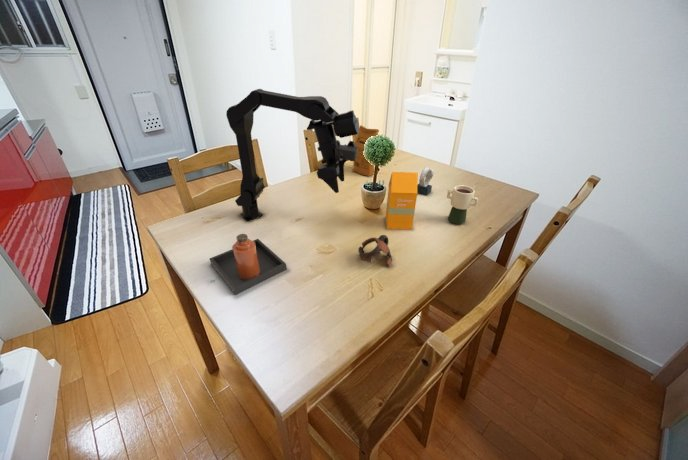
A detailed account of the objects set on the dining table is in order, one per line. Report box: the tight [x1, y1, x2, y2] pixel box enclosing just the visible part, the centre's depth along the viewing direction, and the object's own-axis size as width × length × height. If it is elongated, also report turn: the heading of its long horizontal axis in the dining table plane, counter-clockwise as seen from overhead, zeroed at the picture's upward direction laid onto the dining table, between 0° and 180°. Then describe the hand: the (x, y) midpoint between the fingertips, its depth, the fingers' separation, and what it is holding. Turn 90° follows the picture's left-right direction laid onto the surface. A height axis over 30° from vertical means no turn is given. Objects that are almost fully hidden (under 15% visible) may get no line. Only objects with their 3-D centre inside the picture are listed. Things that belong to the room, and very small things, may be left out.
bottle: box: [231, 233, 260, 280], centre depth 83 cm, size 6×6×12 cm
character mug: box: [446, 184, 479, 225], centre depth 109 cm, size 11×7×13 cm, turn 52°
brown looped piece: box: [357, 234, 393, 268], centre depth 92 cm, size 12×10×8 cm
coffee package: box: [352, 124, 380, 177], centre depth 146 cm, size 10×12×22 cm
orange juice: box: [385, 171, 419, 230], centre depth 105 cm, size 8×9×20 cm
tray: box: [209, 238, 288, 296], centre depth 88 cm, size 17×16×3 cm
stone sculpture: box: [417, 167, 435, 196], centre depth 130 cm, size 6×8×11 cm
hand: (340, 186), depth 101 cm, fingers open, 9 cm apart
